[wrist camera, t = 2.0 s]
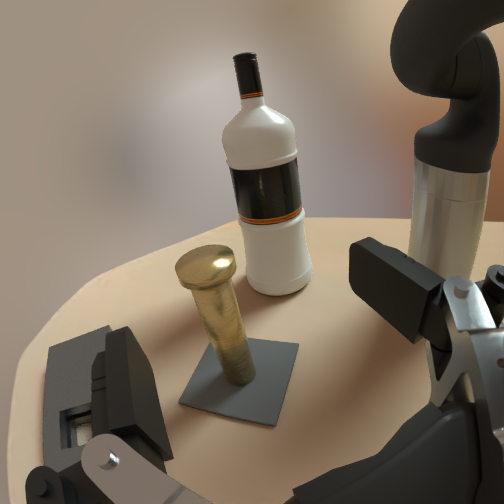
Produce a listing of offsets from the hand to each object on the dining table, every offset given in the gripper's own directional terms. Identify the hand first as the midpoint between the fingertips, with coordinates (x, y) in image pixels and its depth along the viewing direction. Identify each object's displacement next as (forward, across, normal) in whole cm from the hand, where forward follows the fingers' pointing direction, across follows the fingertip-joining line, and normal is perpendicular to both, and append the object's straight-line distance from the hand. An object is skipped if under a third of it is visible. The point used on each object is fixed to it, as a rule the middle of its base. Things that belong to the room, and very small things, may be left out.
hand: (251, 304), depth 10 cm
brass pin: (+12, 0, +18) cm, 22 cm away
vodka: (+25, -11, +19) cm, 33 cm away
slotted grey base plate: (+13, +18, +19) cm, 29 cm away
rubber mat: (+12, 0, +19) cm, 22 cm away
